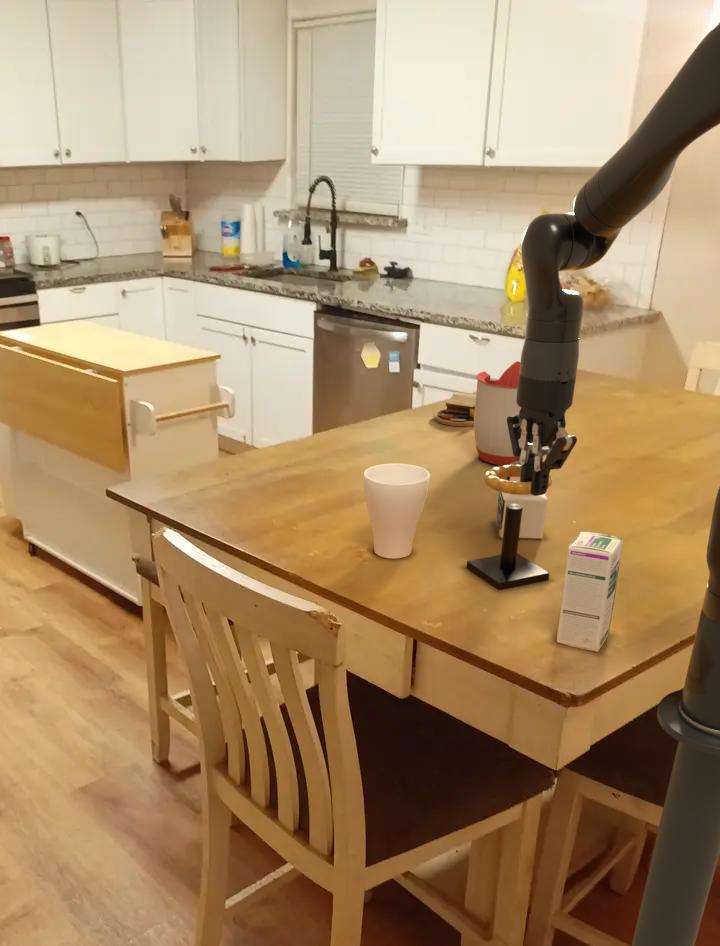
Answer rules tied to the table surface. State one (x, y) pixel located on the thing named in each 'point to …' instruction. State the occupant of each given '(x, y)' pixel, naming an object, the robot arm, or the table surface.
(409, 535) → the cup
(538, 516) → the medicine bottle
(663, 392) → the table surface
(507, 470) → the ring
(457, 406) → the toy sandwich meal
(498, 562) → the holder
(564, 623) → the syrup box
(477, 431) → the citrus juicer
